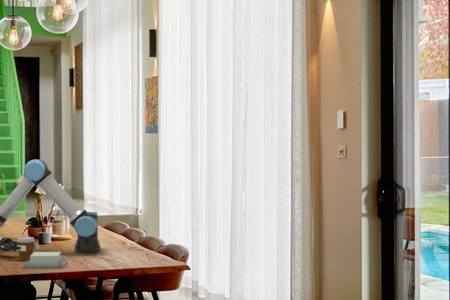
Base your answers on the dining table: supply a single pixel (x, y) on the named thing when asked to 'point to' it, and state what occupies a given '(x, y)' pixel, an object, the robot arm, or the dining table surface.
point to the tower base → (61, 265)
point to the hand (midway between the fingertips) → (31, 247)
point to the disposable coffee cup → (29, 247)
